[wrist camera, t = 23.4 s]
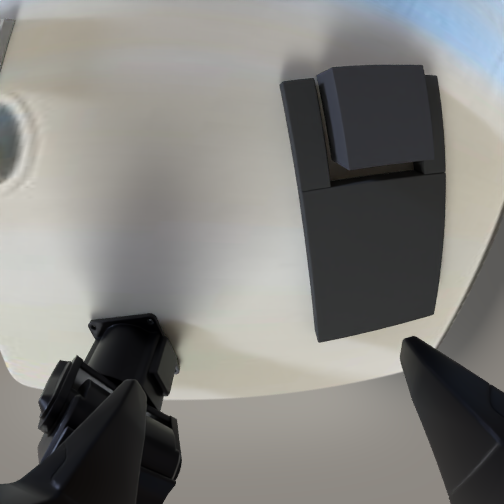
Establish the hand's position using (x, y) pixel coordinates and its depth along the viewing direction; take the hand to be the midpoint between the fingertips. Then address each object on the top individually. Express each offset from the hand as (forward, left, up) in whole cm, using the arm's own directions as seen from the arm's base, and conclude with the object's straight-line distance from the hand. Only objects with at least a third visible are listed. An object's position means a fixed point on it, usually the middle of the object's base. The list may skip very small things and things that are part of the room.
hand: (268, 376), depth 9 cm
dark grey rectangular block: (+8, +7, -12) cm, 16 cm away
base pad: (+8, 0, -12) cm, 14 cm away
